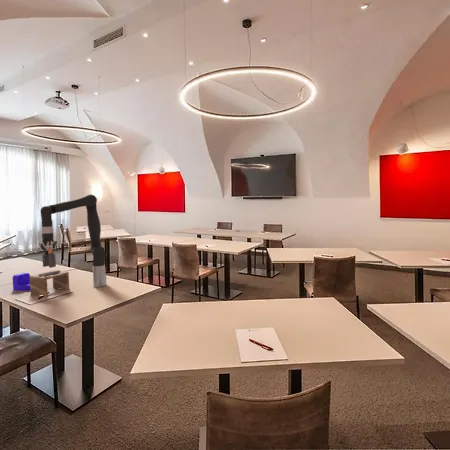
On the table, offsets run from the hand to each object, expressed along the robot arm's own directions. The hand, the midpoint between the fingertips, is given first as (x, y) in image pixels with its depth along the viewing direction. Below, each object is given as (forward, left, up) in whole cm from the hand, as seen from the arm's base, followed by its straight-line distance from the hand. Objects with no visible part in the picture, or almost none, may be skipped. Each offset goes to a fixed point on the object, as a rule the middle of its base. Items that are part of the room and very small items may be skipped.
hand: (48, 254), depth 222 cm
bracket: (+2, -23, -29) cm, 37 cm away
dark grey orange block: (0, 0, -9) cm, 9 cm away
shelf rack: (0, 0, -29) cm, 29 cm away
